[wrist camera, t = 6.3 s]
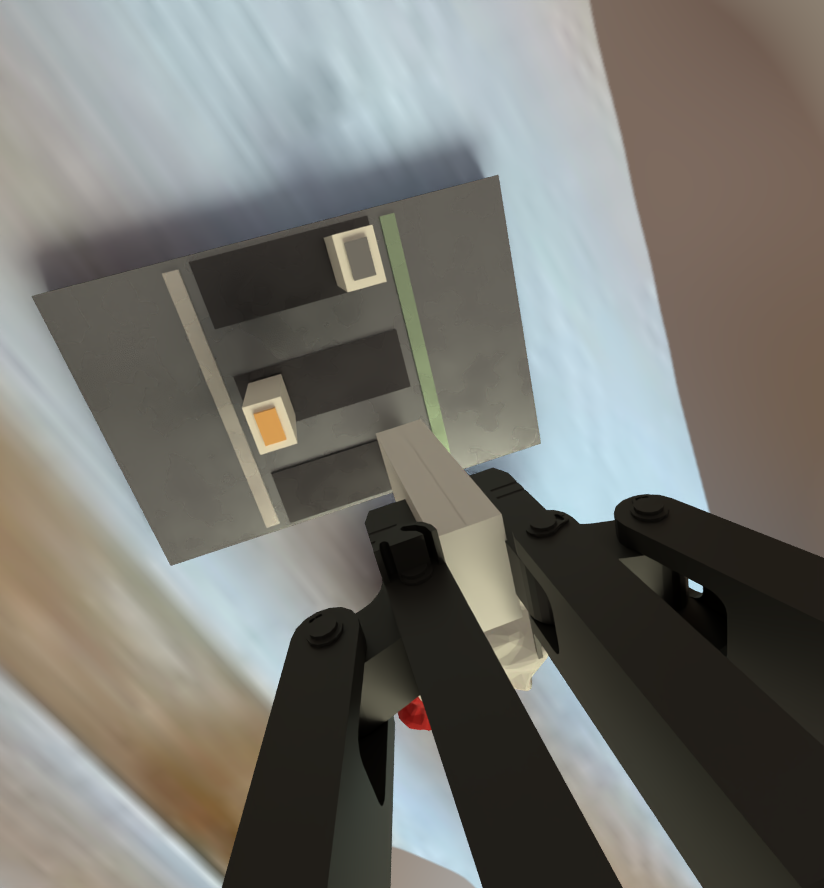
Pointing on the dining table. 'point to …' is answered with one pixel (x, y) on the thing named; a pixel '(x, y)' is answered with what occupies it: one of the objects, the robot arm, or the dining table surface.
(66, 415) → the dining table surface
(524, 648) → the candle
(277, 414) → the breaker mid
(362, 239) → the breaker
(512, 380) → the panel
